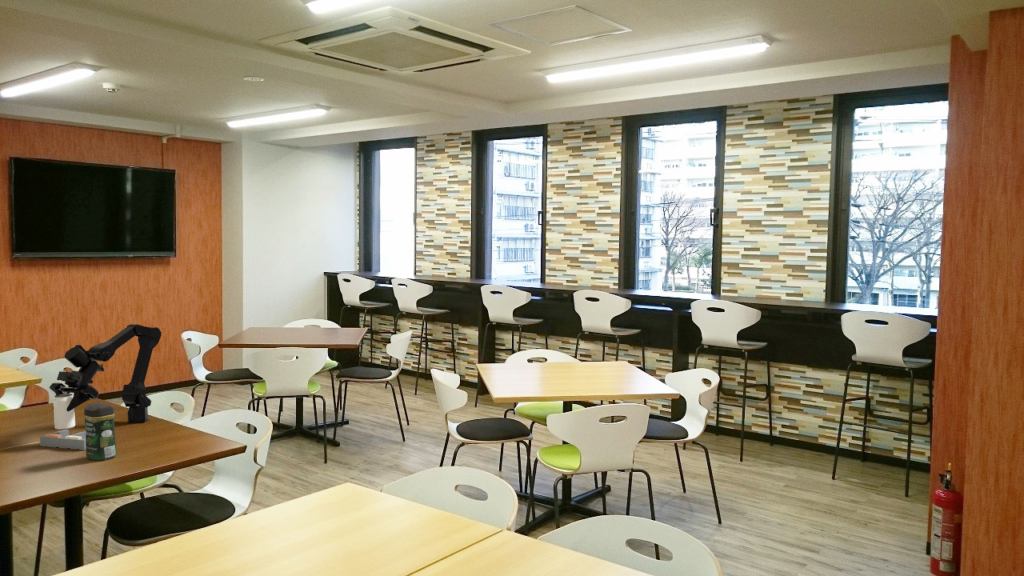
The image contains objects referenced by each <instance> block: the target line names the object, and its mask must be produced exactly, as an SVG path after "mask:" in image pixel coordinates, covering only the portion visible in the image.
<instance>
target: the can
mask: <svg viewBox="0 0 1024 576" xmlns="http://www.w3.org/2000/svg"><path fill="white" fill-rule="evenodd" d="M73 397H74V395H73V393H70V394H60V395H56V394H55V395H54V398H53V401H52V402H53V403H52V404H53V406H54V410H53V421H54V429H55V430H58V431H61V430H65V429H68V430H69V429H73V428H75V426H76V414H75V412H76V411H75V408H74V409H72V410H71V411H69V412H68V411H67V407H68V406H69V404H70V402H71V401H72V399H73Z"/></svg>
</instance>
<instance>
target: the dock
mask: <svg viewBox="0 0 1024 576" xmlns="http://www.w3.org/2000/svg"><path fill="white" fill-rule="evenodd" d="M39 444H40V445H39V446H40V447H46V446H47V447H48V448H56V447H59V448H58V449H67V448H70V449H69V450H77V449H79V450H80V451H86V430H84V431H80V432H77V433H73V434H70V430H69V429H64V430H58V431H54V432H52V433H51V432H50V433H46V434H43V435H40V436H39ZM79 450H78V451H79Z"/></svg>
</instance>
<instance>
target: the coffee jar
mask: <svg viewBox="0 0 1024 576" xmlns="http://www.w3.org/2000/svg"><path fill="white" fill-rule="evenodd" d="M115 415H116V414H115V407H114V406H113V405H111V404H106V403H105V404H104V403H101V402H94V403H89V404H88V403H87V405H85V407H84V410H83V417H84V425H85V426H84V427H85V431H86V450H85V457H86V458H87V459H89V460H93V461H95V462H96V461H106V460H110V459H112V458H114V457H116V456H117V446H116V445H117V444H116V432H115V431H116V430H115Z"/></svg>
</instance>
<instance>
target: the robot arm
mask: <svg viewBox="0 0 1024 576" xmlns="http://www.w3.org/2000/svg"><path fill="white" fill-rule="evenodd" d="M134 337H137V343H138V345H139V348H138V349H139V350H138V353H137V357H136V361H135V364H134V367H133V372H132V376H131V379H130V381H129V383H128V384H124V385H123V387H122V392H121V393H120V395H121V400H122V402H123V404H124V406H125V408H128V411H127V424H138V422H144V423H146V422H147V421H149V420H150V419H149V418H150V417H149V411H148V407H150V406H151V405H152V400H151V399H150V398H149V397H148V396H147V388H146V384H145V382H146V381H145V380H146V378H147V373H148V370H149V365H150V362H151V359H152V354H153V351H154V349H155V347H156V346H158V345H159V343H160V340H161V338H162V331H161V329H160V328H159V327H157V326H146V325H145V326H144V325H143V324H142V325H141V324H139V323H130V324H128V325H127V326H126V327H124V329H122V330H121V331H119V332H118V333H116V334H115V335H114V336H111V337H110V338H109V339H108V340H106V341H104V342H101V343H97V344H95V345H93V346H91V347H90V348H89V349H88V350H86V349H84V347H83V346H82V345H81V344H75V346H73V347H71V348H70V349H68V350H67V351H65V353H64V355H63V356H64V357H63V358H64V359H66V361H67V362H69V363H70V364H71V365H73V366H74V367H75V368H77V369H78V368H79V369H78V370H71V372H70V371H61V370H59V371H58V375H57V377H56V381H62V382H64V383H62V382H52V383H51V384H50V386H49V387H48V389H50V390H51V391H52V392H53V393H55V396H56V395H60V394H73V399H72V401H71V402H70V404H69V406H68V407H67V411H68V412H69V411H71V410H72V409H74V410H75V409H76V408H77V407H79V406H80V405H82V404H84V403H86V402H88V401H90V400H97V398H98V397H99V394H100V393H99V391H98V390H97V388H95V387H94V386H92V384H93V383H94V380H93V378H94V377H95V375H96V374H97V373H98V372H104V371H105V368H104V365H103V364H101V363H99V362H105V363H106V362H108V361H110V360H111V358H112V357H113V356H114V355H115V353H116V351H117V350H119V348H121V347H122V346H123V345H125V344H126V343H127V342H130V340H132V338H133V339H134ZM52 410H53V411H54V405H53V406H52ZM148 419H149V420H148ZM145 421H146V422H145Z"/></svg>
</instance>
